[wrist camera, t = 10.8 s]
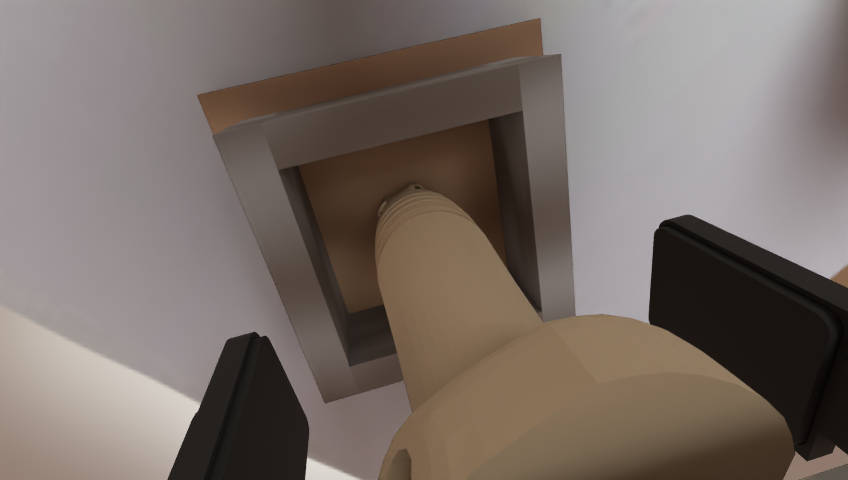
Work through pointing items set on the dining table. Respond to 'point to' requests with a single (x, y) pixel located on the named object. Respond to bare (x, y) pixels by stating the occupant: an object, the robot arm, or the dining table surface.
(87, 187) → the dining table surface
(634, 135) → the dining table surface
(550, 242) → the socket
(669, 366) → the handle
